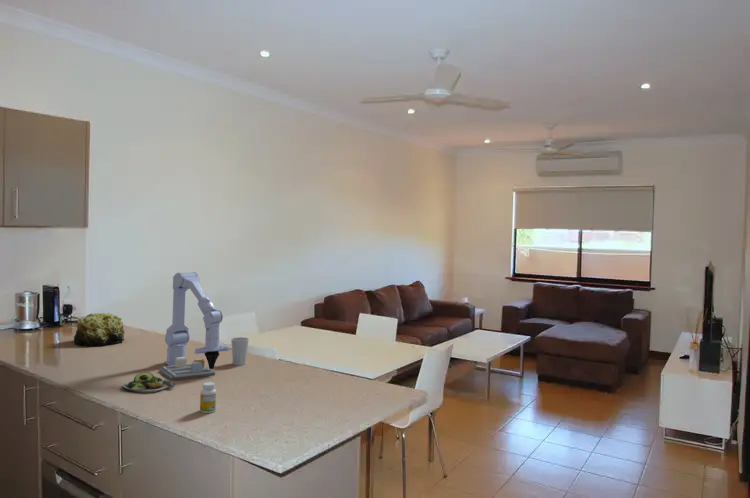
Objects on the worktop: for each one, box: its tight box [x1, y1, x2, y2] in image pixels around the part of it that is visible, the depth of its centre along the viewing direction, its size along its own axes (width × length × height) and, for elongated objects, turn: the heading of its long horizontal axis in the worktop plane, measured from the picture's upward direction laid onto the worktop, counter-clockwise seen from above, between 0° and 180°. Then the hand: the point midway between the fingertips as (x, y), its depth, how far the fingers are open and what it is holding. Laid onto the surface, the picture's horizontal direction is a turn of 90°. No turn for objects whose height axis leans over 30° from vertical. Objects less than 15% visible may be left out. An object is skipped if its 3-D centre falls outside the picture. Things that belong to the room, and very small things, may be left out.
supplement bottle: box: [199, 381, 217, 414], centre depth 197 cm, size 5×5×10 cm
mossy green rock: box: [73, 312, 125, 348], centre depth 301 cm, size 25×24×16 cm
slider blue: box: [190, 361, 203, 373], centre depth 242 cm, size 3×4×5 cm
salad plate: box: [121, 371, 175, 394], centre depth 223 cm, size 19×18×5 cm
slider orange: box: [192, 357, 206, 368], centre depth 248 cm, size 3×4×5 cm
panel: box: [158, 363, 216, 382], centre depth 246 cm, size 18×19×2 cm
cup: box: [231, 336, 250, 366], centre depth 267 cm, size 8×8×12 cm
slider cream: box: [175, 356, 188, 368], centre depth 249 cm, size 3×4×5 cm
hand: (211, 368), depth 246 cm, fingers closed
